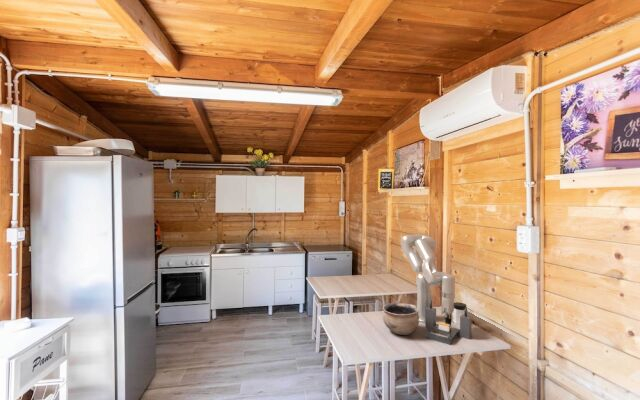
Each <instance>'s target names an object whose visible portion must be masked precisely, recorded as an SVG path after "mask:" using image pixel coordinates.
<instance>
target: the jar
mask: <svg viewBox="0 0 640 400" xmlns="http://www.w3.org/2000/svg"><path fill="white" fill-rule="evenodd" d="M465 307H466V308H467V304H466V303H463V302H454V312H453V313H452V317H451V322H454V324H456V325H460V316H461V315H464V309H465Z"/></svg>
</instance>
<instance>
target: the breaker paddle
mask: <svg viewBox="0 0 640 400" xmlns="http://www.w3.org/2000/svg"><path fill="white" fill-rule="evenodd" d="M438 324H439V329H440V330H443V331H447V332H449V331H450V327H451V325H450V324H446V323H445V322H441V321H439V322H438Z"/></svg>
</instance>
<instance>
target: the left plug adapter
mask: <svg viewBox="0 0 640 400" xmlns="http://www.w3.org/2000/svg"><path fill="white" fill-rule="evenodd" d="M424 323H425V329H429V330H430V329H431V328H432V327H433V326H435V325H436V324H437V308H435V307H433V299H432V300H430V307H428V308H426V309H425V322H424Z"/></svg>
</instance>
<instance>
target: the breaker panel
mask: <svg viewBox="0 0 640 400" xmlns="http://www.w3.org/2000/svg"><path fill="white" fill-rule="evenodd" d="M459 337H460V328H455V327H451V326H450V331H449V332H447V331H443V330H440V329H439V323H436V325H435V326H433V327H432V328H431V329H429V330H427V331H426V332H425V338H426V339H429V340H432V341H436V342H439V343H442V344H446V345H452V344H453V343H454V341H456V340H457V339H458V338H459Z"/></svg>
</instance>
